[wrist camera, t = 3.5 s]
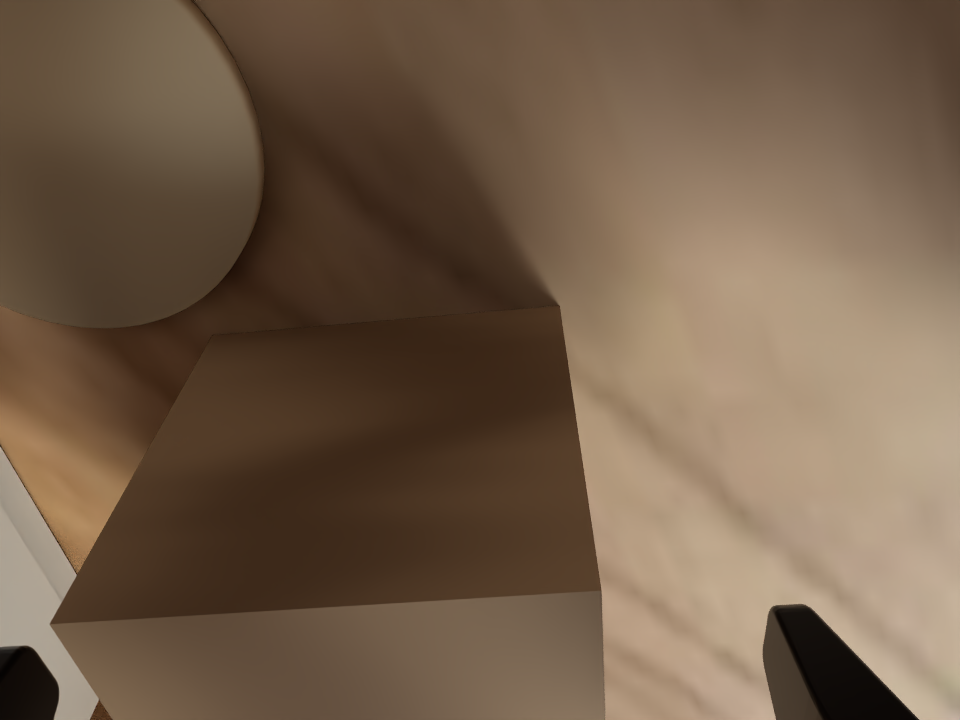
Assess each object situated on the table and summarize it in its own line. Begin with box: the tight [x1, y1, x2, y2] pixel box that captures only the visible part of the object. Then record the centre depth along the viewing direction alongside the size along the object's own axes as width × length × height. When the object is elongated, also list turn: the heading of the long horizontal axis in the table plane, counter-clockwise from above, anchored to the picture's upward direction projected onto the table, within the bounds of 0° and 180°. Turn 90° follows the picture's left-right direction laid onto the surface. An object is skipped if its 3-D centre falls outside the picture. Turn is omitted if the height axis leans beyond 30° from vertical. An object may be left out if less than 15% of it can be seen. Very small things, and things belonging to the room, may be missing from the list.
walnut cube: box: [49, 306, 605, 720], centre depth 10 cm, size 5×5×5 cm
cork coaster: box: [0, 0, 265, 328], centre depth 9 cm, size 5×5×1 cm
